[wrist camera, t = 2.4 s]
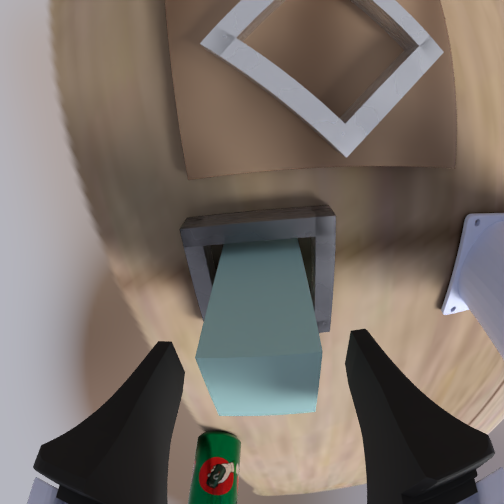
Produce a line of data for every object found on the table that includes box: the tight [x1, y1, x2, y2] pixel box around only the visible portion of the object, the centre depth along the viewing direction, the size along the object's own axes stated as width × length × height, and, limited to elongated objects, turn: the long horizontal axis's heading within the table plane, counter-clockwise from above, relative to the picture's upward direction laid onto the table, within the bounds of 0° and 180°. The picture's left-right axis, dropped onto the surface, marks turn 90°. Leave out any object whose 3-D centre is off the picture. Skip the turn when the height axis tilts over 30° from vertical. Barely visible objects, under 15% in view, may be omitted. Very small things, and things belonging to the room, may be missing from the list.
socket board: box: [165, 0, 457, 180], centre depth 9 cm, size 14×12×2 cm
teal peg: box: [195, 238, 322, 416], centre depth 13 cm, size 4×4×8 cm
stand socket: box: [180, 205, 336, 333], centre depth 16 cm, size 8×8×2 cm
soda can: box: [188, 431, 241, 504], centre depth 22 cm, size 5×5×12 cm
